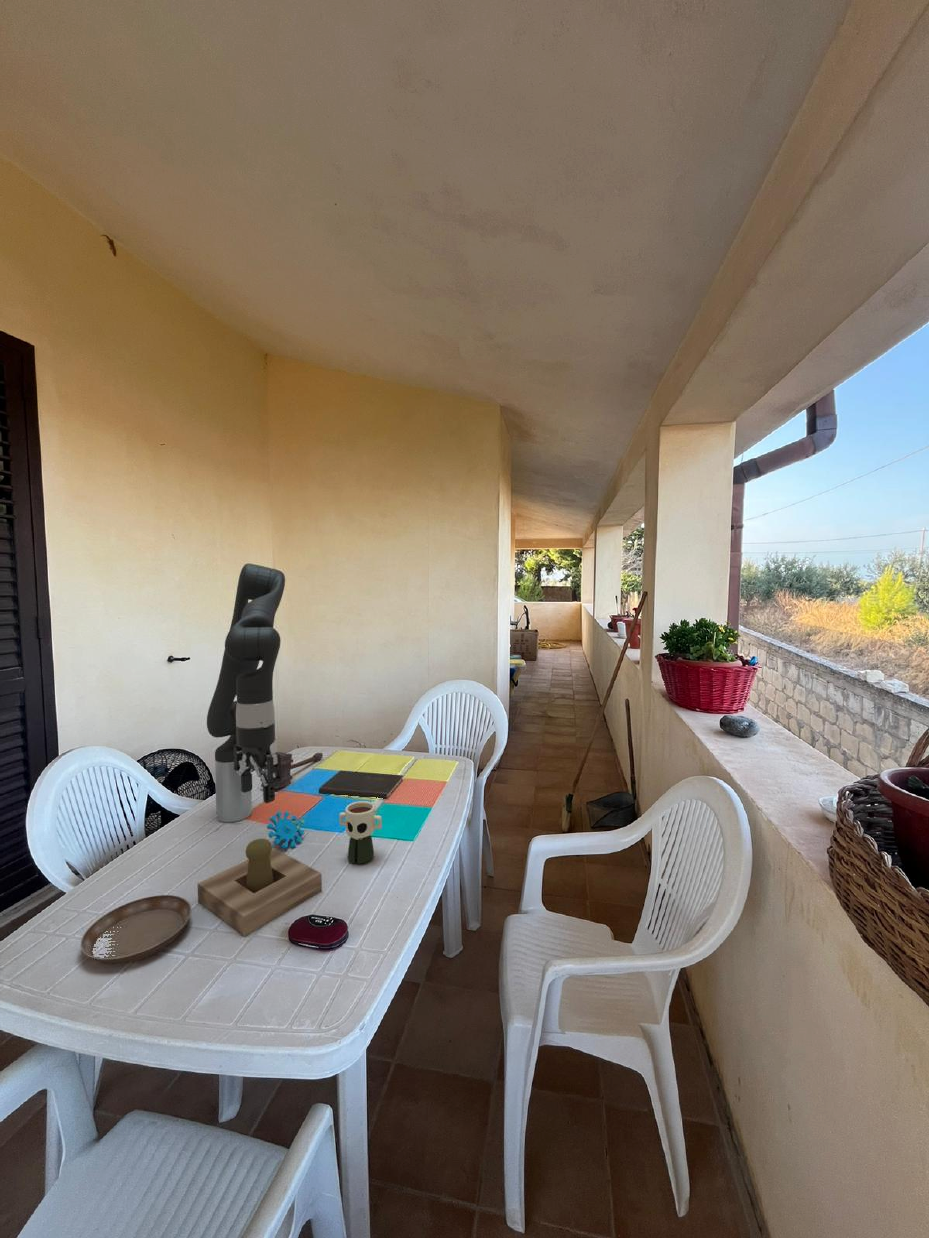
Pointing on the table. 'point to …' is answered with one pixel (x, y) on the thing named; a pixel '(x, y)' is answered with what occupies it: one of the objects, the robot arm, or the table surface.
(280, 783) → the hammer
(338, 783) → the hardcover book
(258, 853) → the olive knobbed peg
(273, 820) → the gear
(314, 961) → the table surface
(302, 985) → the table surface
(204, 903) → the socket block
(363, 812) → the character mug
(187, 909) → the plant saucer
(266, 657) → the robot arm
